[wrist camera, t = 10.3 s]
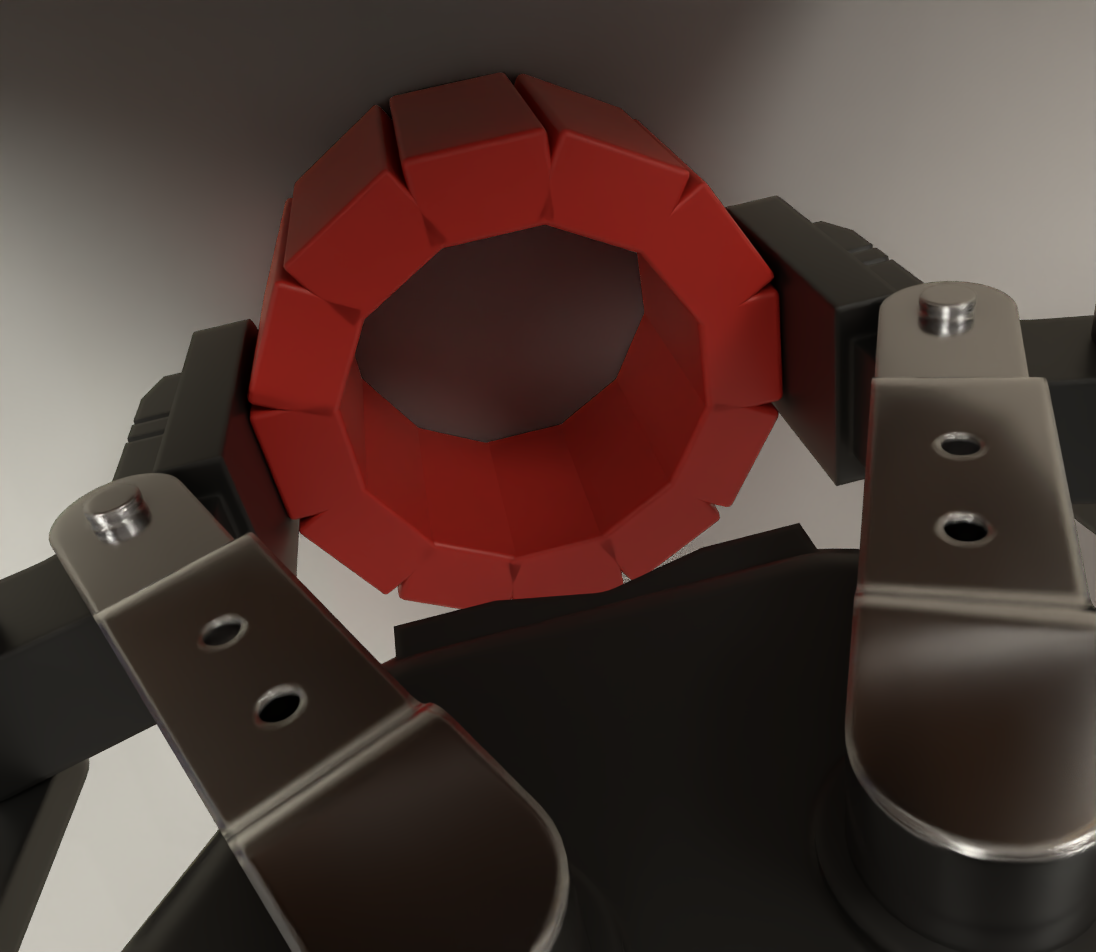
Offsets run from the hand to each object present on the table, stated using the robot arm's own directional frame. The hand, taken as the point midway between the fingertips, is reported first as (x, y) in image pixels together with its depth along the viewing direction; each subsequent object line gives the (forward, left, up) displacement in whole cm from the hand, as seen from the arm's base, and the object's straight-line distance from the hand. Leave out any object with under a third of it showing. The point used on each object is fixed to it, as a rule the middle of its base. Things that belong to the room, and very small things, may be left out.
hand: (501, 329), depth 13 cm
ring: (0, 0, -1) cm, 1 cm away
